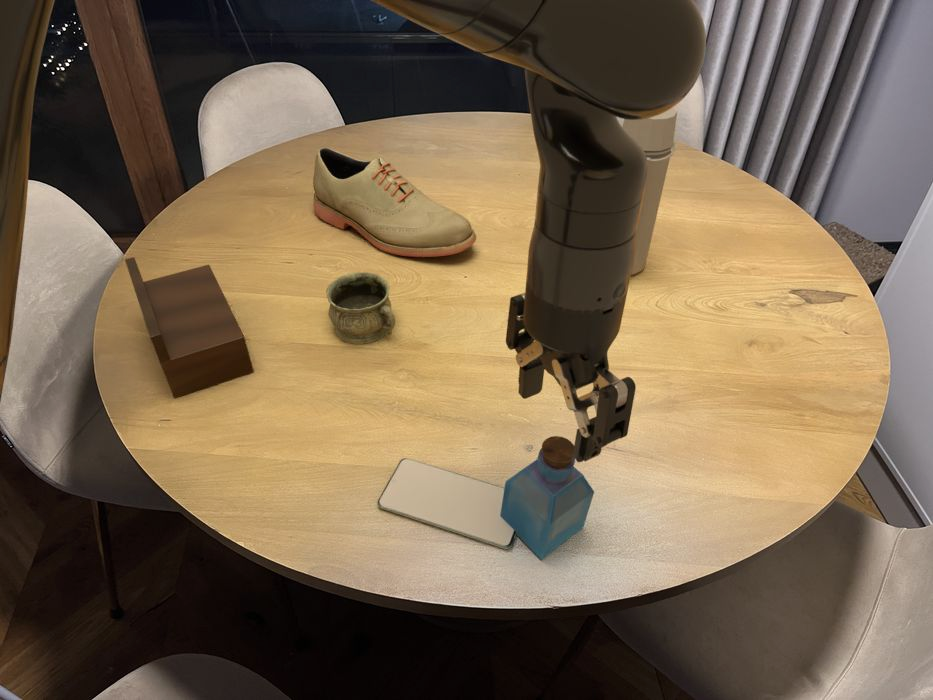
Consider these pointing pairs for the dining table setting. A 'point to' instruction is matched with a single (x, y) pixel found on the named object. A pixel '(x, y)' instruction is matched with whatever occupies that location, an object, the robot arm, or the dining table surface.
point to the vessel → (360, 307)
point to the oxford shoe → (385, 207)
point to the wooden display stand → (191, 328)
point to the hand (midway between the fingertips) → (556, 423)
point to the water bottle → (651, 173)
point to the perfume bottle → (547, 498)
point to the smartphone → (448, 502)
